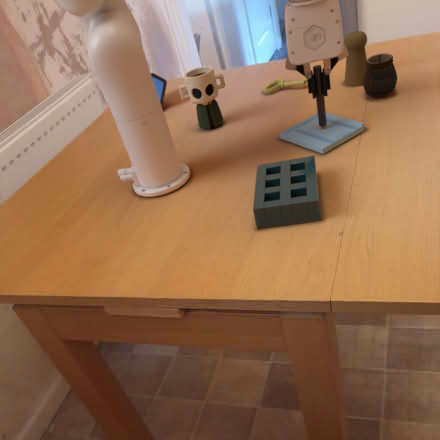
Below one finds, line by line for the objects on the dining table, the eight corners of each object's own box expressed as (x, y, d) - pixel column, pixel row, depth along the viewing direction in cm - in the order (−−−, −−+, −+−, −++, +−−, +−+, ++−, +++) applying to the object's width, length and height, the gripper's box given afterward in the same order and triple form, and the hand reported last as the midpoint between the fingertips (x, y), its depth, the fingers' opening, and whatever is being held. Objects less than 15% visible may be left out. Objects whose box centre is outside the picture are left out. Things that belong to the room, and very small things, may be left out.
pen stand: (257, 229, 80) (252, 209, 77) (260, 183, 90) (257, 164, 88) (321, 220, 77) (318, 199, 75) (316, 174, 88) (314, 155, 85)
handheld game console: (127, 110, 141) (118, 85, 136) (159, 97, 143) (151, 71, 138) (140, 120, 132) (131, 94, 127) (175, 106, 134) (167, 79, 129)
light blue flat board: (367, 129, 96) (367, 123, 96) (323, 154, 93) (322, 148, 92) (321, 116, 106) (321, 110, 105) (280, 138, 102) (279, 133, 102)
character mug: (191, 136, 115) (176, 83, 106) (190, 126, 120) (175, 73, 112) (235, 124, 114) (222, 69, 106) (231, 114, 120) (219, 60, 111)
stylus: (319, 132, 99) (313, 68, 90) (319, 129, 100) (312, 65, 91) (327, 131, 98) (321, 66, 90) (327, 128, 99) (321, 64, 91)
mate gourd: (392, 85, 109) (392, 39, 103) (401, 97, 104) (402, 48, 97) (360, 92, 111) (359, 47, 104) (367, 104, 105) (366, 57, 98)
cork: (373, 75, 116) (372, 27, 109) (364, 86, 113) (363, 36, 106) (349, 76, 119) (347, 29, 112) (340, 86, 116) (337, 38, 109)
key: (307, 89, 120) (306, 80, 118) (261, 95, 124) (259, 87, 123) (312, 78, 124) (311, 70, 123) (267, 84, 129) (265, 76, 128)
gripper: (264, 6, 81) (280, 110, 93) (358, -18, 78) (362, 94, 90) (265, -4, 87) (280, 95, 99) (353, -27, 83) (358, 80, 95)
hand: (319, 94), depth 94 cm, fingers closed on stylus, 1 cm apart
